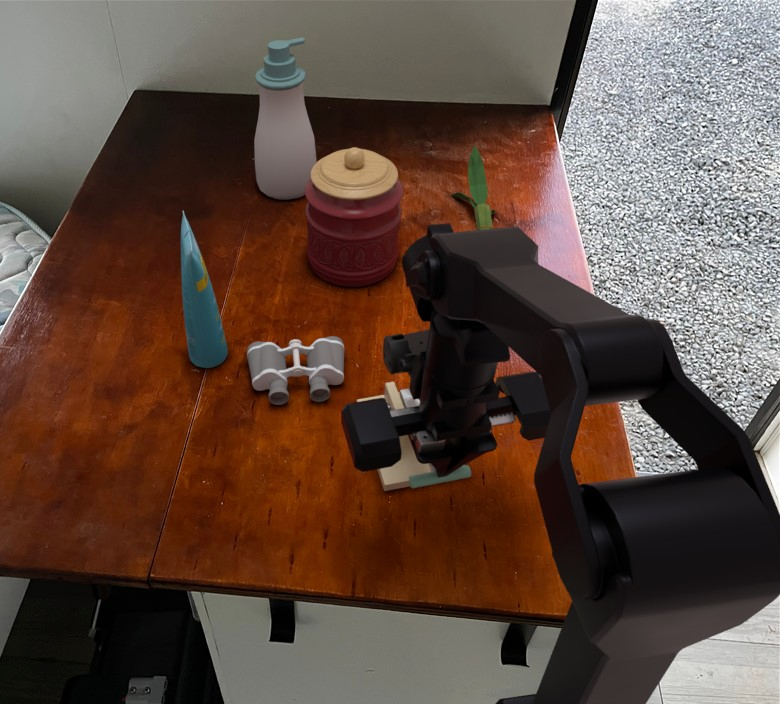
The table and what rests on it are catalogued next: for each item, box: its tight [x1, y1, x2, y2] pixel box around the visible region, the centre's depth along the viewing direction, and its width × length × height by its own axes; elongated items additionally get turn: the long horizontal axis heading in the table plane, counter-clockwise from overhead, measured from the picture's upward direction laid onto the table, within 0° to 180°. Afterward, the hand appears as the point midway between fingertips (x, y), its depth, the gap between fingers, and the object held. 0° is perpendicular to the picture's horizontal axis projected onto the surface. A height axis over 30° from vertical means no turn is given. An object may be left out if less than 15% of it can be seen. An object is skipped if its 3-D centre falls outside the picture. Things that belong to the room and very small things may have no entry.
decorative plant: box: [451, 145, 496, 230], centre depth 101 cm, size 6×8×30 cm
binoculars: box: [246, 335, 346, 406], centre depth 85 cm, size 12×8×4 cm, turn 94°
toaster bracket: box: [356, 381, 466, 492], centre depth 77 cm, size 12×9×8 cm
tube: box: [180, 210, 229, 369], centre depth 83 cm, size 7×5×19 cm, turn 19°
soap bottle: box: [253, 36, 317, 201], centre depth 107 cm, size 10×10×23 cm
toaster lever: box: [399, 387, 472, 489], centre depth 72 cm, size 11×6×2 cm, turn 12°
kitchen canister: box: [304, 146, 404, 288], centre depth 95 cm, size 13×13×18 cm
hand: (440, 473), depth 69 cm, fingers closed
